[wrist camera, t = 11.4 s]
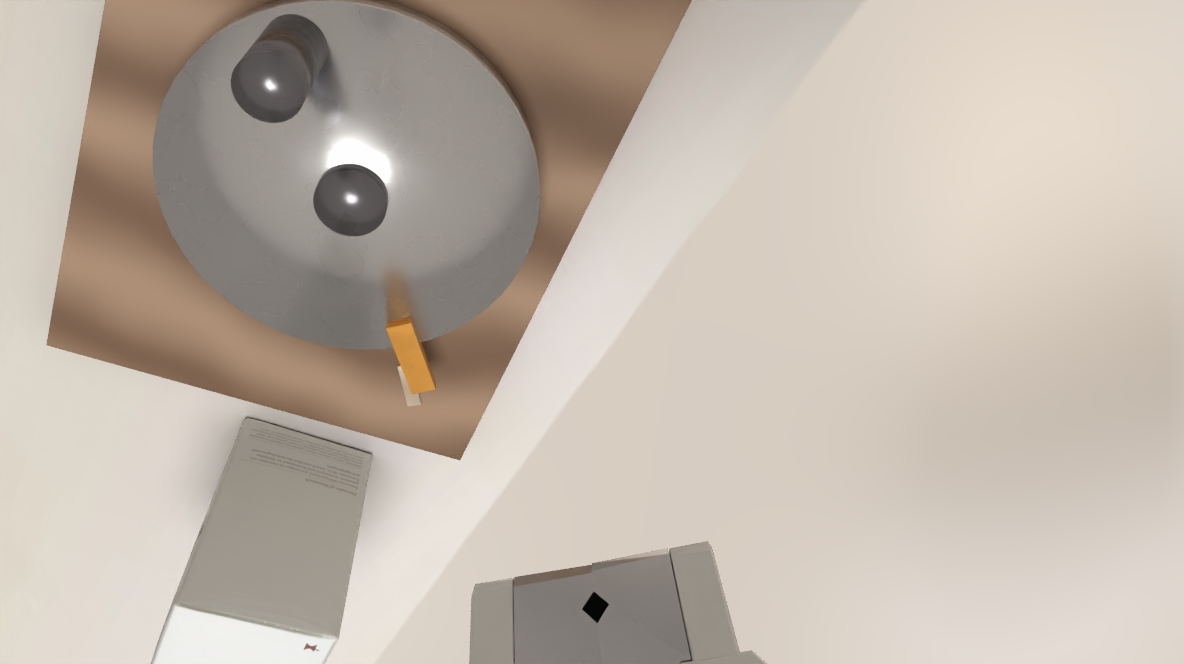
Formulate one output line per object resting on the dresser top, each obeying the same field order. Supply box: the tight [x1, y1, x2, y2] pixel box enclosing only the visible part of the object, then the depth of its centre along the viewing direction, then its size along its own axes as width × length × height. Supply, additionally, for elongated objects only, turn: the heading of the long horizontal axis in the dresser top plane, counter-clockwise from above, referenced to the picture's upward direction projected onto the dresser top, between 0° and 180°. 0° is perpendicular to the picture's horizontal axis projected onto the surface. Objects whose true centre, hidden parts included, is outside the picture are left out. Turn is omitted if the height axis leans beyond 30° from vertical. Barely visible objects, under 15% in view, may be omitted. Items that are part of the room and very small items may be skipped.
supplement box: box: [151, 418, 372, 664], centre depth 45 cm, size 7×7×13 cm
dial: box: [153, 0, 540, 394], centre depth 37 cm, size 18×16×6 cm
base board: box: [47, 0, 691, 460], centre depth 39 cm, size 28×21×2 cm
